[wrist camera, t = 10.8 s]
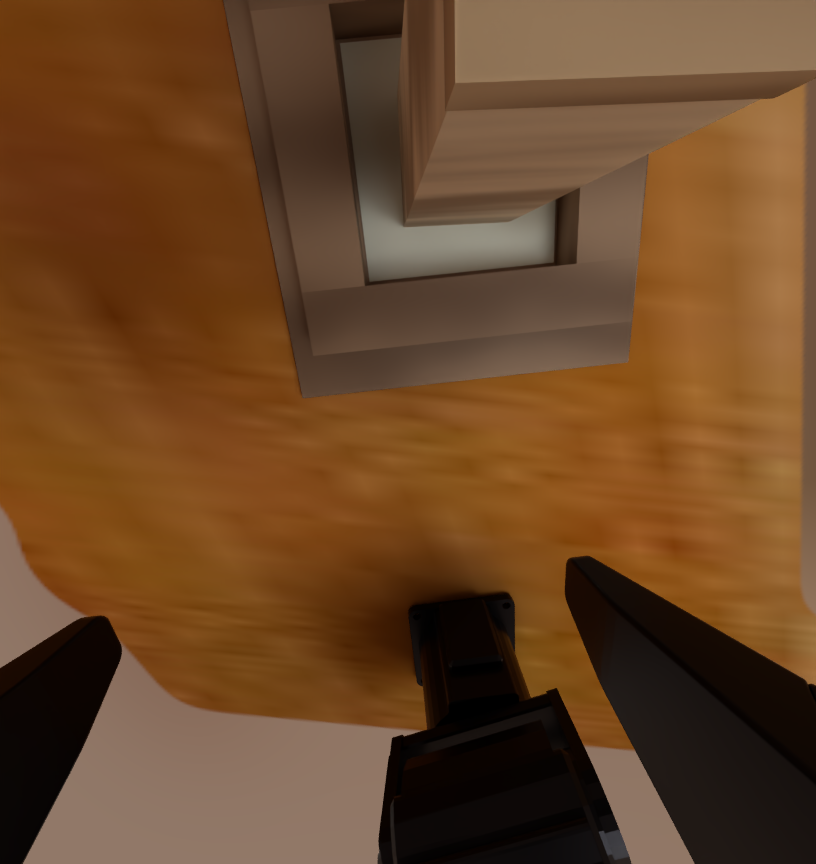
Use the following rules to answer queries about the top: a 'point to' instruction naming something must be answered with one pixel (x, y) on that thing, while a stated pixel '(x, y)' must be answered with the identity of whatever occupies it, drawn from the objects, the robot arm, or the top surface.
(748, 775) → the robot arm
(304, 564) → the top surface
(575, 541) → the top surface
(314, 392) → the tan flat wooden frame
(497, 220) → the peg
